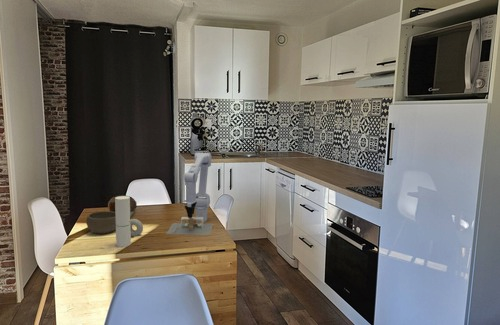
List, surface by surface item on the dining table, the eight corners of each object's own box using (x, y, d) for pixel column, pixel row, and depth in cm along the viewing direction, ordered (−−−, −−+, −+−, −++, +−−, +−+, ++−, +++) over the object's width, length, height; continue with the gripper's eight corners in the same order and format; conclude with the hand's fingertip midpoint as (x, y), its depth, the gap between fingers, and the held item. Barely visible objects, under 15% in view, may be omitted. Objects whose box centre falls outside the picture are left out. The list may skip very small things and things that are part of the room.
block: (190, 223, 227) (190, 217, 227) (196, 223, 227) (196, 217, 227) (189, 225, 223) (189, 219, 223) (196, 225, 223) (196, 219, 223)
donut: (124, 236, 204) (124, 219, 202) (127, 234, 207) (127, 217, 206) (141, 238, 202) (141, 220, 200) (144, 236, 205) (144, 218, 204)
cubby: (172, 224, 228) (172, 214, 227) (213, 224, 228) (213, 214, 227) (166, 235, 207) (165, 224, 206) (210, 236, 207) (210, 225, 207)
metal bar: (175, 228, 218) (175, 226, 217) (177, 228, 218) (177, 226, 218) (172, 233, 208) (172, 231, 208) (174, 233, 208) (174, 231, 208)
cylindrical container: (132, 242, 195) (131, 196, 192) (128, 247, 188) (127, 199, 185) (118, 242, 195) (117, 196, 191) (114, 246, 188) (113, 199, 184)
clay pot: (142, 193, 259) (129, 194, 234) (143, 214, 258) (131, 218, 233) (121, 195, 259) (106, 196, 234) (123, 217, 258) (108, 220, 233)
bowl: (125, 228, 218) (125, 212, 217) (106, 237, 201) (106, 220, 200) (101, 225, 222) (100, 209, 221) (80, 234, 205) (79, 217, 204)
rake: (187, 225, 223) (187, 214, 222) (197, 225, 223) (197, 214, 222) (185, 230, 214) (185, 218, 213) (195, 230, 214) (195, 219, 213)
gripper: (185, 190, 219) (185, 212, 220) (181, 195, 204) (182, 219, 206) (197, 190, 219) (197, 212, 221) (194, 195, 204) (194, 219, 206)
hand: (190, 215), depth 213 cm, fingers open, 7 cm apart
